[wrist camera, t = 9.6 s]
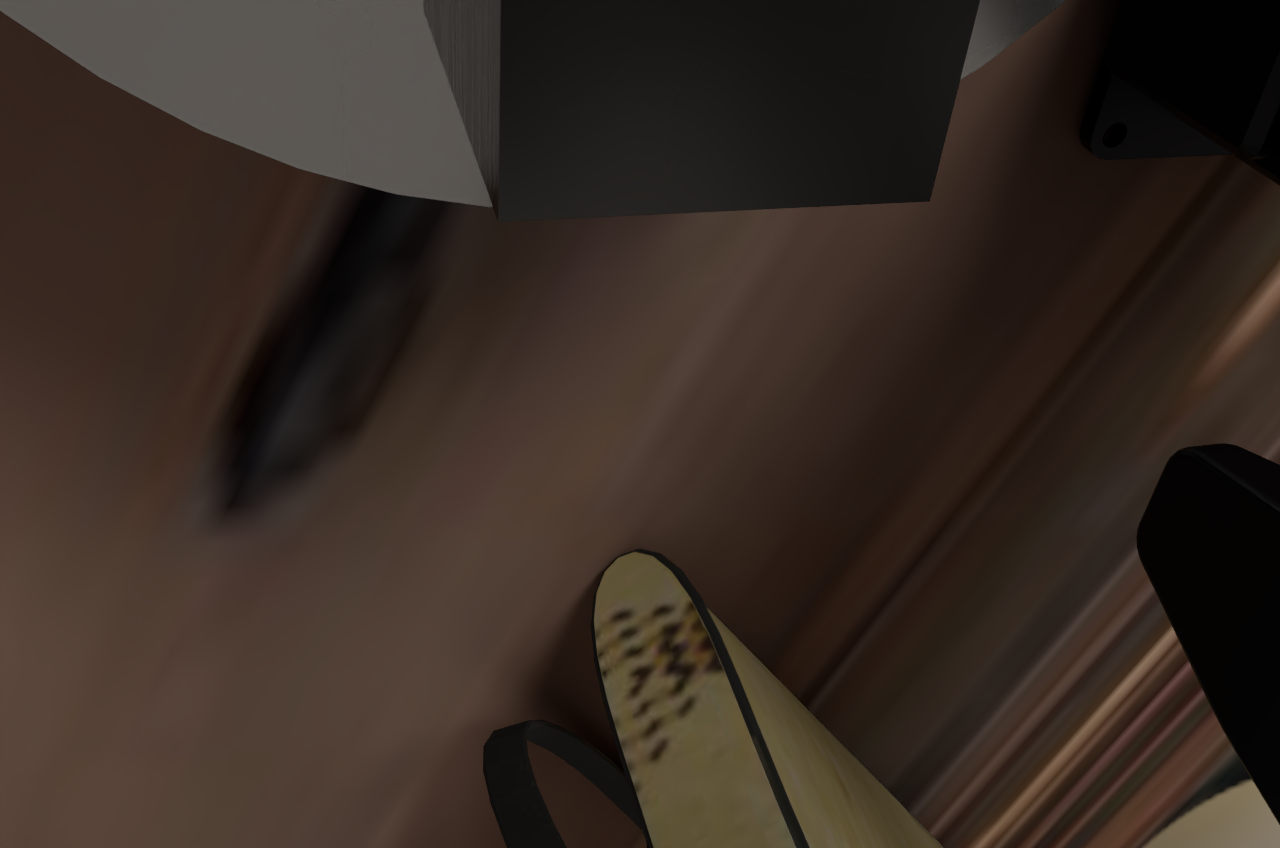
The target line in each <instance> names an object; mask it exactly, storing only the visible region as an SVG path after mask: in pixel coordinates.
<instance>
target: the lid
mask: <svg viewBox="0 0 1280 848" xmlns="http://www.w3.org/2000/svg"><path fill="white" fill-rule="evenodd" d="M1065 1H1066V0H0V11H1V12H3V13H4V14H6V15H7V16H9V17H10V18H12V19H13V20H15V21H16V22H18V23H19V24H21V25H22V26H24V27H25V28H26V29H28V30H29V31H31V32H32V33H34V34H35V35H37V36H38V37H40V38H41V39H43V40H44V41H46V42H47V43H49V44H50V45H52V46H53V47H55V48H56V49H58V50H59V51H61V52H62V53H64V54H65V55H67V56H68V57H70V58H71V59H73V60H74V61H76V62H77V63H79V64H80V65H82V66H83V67H85V68H86V69H88V70H89V71H91V72H92V73H94V74H95V75H97V76H98V77H100V78H102V79H104V80H106V81H107V82H109V83H111V84H113V85H115V86H117V87H119V88H121V89H123V90H125V91H127V92H128V93H130V94H132V95H134V96H136V97H138V98H140V99H142V100H144V101H146V102H147V103H149V104H151V105H153V106H155V107H157V108H159V109H161V110H163V111H165V112H167V113H168V114H170V115H172V116H174V117H176V118H178V119H180V120H182V121H184V122H186V123H187V124H189V125H191V126H193V127H195V128H197V129H199V130H201V131H203V132H206V133H208V134H211V135H213V136H216V137H219V138H221V139H224V140H226V141H229V142H231V143H234V144H237V145H239V146H242V147H244V148H247V149H249V150H252V151H255V152H257V153H260V154H262V155H265V156H267V157H270V158H273V159H275V160H278V161H280V162H283V163H285V164H288V165H291V166H293V167H296V168H298V169H301V170H305V171H309V172H312V173H316V174H320V175H324V176H328V177H332V178H335V179H339V180H343V181H347V182H351V183H355V184H358V185H362V186H366V187H370V188H374V189H378V190H381V191H385V192H389V193H393V194H397V195H405V196H412V197H419V198H427V199H434V200H441V201H449V202H456V203H463V204H470V205H478V206H485V207H493V208H494V211H495V214H496V217H497V220H498V222H506V221H527V220H548V219H569V218H590V217H611V216H632V215H653V214H673V213H694V212H715V211H736V210H757V209H778V208H799V207H820V206H841V205H862V204H882V203H903V202H924V201H930V198H931V194H932V190H933V186H934V182H935V178H936V174H937V170H938V166H939V162H940V158H941V154H942V150H943V146H944V142H945V138H946V134H947V130H948V126H949V122H950V118H951V114H952V110H953V106H954V102H955V98H956V94H957V90H958V86H959V83H960V80H961V79H962V78H964V77H965V76H967V75H969V74H970V73H972V72H973V71H975V70H977V69H978V68H980V67H981V66H983V65H985V64H986V63H987V62H989V61H990V60H991V59H992V58H994V57H995V56H996V55H998V54H999V53H1000V52H1001V51H1003V50H1004V49H1005V48H1007V47H1008V46H1009V45H1010V44H1012V43H1013V42H1014V41H1015V40H1017V39H1018V38H1019V37H1021V36H1022V35H1023V34H1024V33H1026V32H1027V31H1028V30H1030V29H1031V28H1032V27H1033V26H1035V25H1036V24H1037V23H1038V22H1040V21H1041V20H1042V19H1044V18H1045V17H1046V16H1047V15H1049V14H1050V13H1051V12H1052V11H1054V10H1055V9H1056V8H1058V7H1059V6H1060V5H1061V4H1062V3H1064V2H1065Z"/></svg>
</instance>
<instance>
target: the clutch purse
mask: <svg viewBox="0 0 1280 848" xmlns="http://www.w3.org/2000/svg"><path fill="white" fill-rule="evenodd" d="M591 630H592V641H593V651H594V661H595V666H596V670H597V675H598V679H599V684H600V689H601V693H602V698H603V702H604V706H605V709H606V713H607V716H608V720H609V723H610V726H611V730H612V733H613V737H614V740H615V743H616V747H617V750H618V754H619V757H620V760H621V763H622V766H623V769H624V772H623V771H622V770H621V769H620V768H619V767H618V766H617V765H616V764H614V763H613V762H612V761H611V760H610V759H609V758H607V757H606V756H605V755H604V754H602V753H601V752H600V751H599V750H598V749H596V748H595V747H593V746H592V745H591V744H589V743H588V742H586V741H585V740H583V739H582V738H580V737H579V736H577V735H575V734H573V733H572V732H570V731H568V730H566V729H564V728H562V727H560V726H558V725H555V724H552V723H550V722H547V721H544V720H529V721H525V722H522V723H519V724H515V725H512V726H508V727H505V728H502V729H498V730H495V731H493V733H492V734H491V736H490V737H489V739H488V740H487V742H486V743H485V745H484V755H483V772H484V776H485V780H486V785H487V789H488V793H489V798H490V802H491V806H492V808H493V811H494V814H495V816H496V819H497V822H498V825H499V827H500V830H501V833H502V835H503V838H504V841H505V843H506V846H507V848H566V846H565V844H564V842H563V840H562V838H561V836H560V835H559V833H558V831H557V829H556V827H555V825H554V823H553V821H552V819H551V816H550V814H549V812H548V809H547V807H546V805H545V803H544V800H543V798H542V796H541V793H540V791H539V789H538V787H537V784H536V780H535V777H534V774H533V771H532V767H531V764H530V761H529V757H528V752H527V740H528V741H531V742H533V743H535V744H537V745H539V746H541V747H543V748H545V749H547V750H549V751H551V752H552V753H554V754H556V755H557V756H559V757H560V758H562V759H563V760H565V761H566V762H567V763H569V764H570V765H571V766H573V767H574V768H575V769H577V770H578V771H579V772H580V773H582V774H583V775H584V776H585V777H586V778H587V779H589V780H590V781H591V782H592V783H593V784H594V785H595V786H597V787H598V788H599V789H600V790H601V791H602V792H603V793H604V794H605V795H606V796H607V797H608V798H609V799H610V800H612V801H613V802H614V803H615V804H616V805H617V806H618V807H619V808H620V809H621V810H622V811H623V812H624V813H625V814H626V815H627V816H628V817H629V818H630V819H631V820H632V821H633V822H634V823H635V824H636V825H637V826H638V827H640V828H641V829H642V830H643V833H644V836H645V839H646V842H647V848H944V847H943V846H942V845H941V844H940V843H939V842H938V841H937V840H936V839H935V838H934V837H933V836H932V835H931V834H930V833H929V832H928V831H927V830H926V829H925V828H924V827H923V826H922V825H921V824H920V823H919V822H918V821H917V820H916V819H915V818H914V817H913V816H912V815H911V814H910V813H909V812H908V811H907V810H906V809H905V808H904V807H903V806H902V805H901V803H900V802H899V801H898V800H897V799H896V798H895V797H894V796H893V795H892V794H891V793H890V792H889V791H888V790H887V789H886V788H885V787H884V786H883V785H882V784H881V783H880V782H879V781H878V780H877V779H876V778H875V777H874V776H873V775H872V774H871V773H870V772H869V771H868V770H867V769H866V768H865V767H864V766H863V765H862V764H861V763H860V762H859V761H858V760H857V759H856V758H855V757H854V756H853V755H852V754H851V753H850V752H849V751H848V750H847V749H846V748H845V747H844V746H843V745H842V744H841V743H840V742H839V741H838V740H837V739H836V738H835V737H834V736H833V735H832V734H831V733H830V732H829V731H828V730H827V728H826V727H825V726H824V725H823V724H822V723H821V722H820V721H819V720H818V719H817V718H816V717H815V716H814V715H813V714H812V713H811V712H810V711H809V710H808V709H807V708H806V707H805V706H804V705H803V704H802V703H801V702H800V701H799V700H798V699H797V698H796V697H795V696H794V695H793V694H792V693H791V692H790V691H789V690H788V689H787V688H786V687H785V686H784V685H783V684H782V683H781V682H780V681H779V680H778V679H777V678H776V677H775V676H774V675H773V674H772V673H771V672H770V671H769V670H768V669H767V668H766V667H765V666H764V665H763V664H762V663H761V662H760V661H759V660H758V659H757V658H756V657H755V656H754V654H753V653H752V652H751V651H750V650H749V649H748V648H747V647H746V646H745V645H744V644H743V643H742V642H741V641H740V640H739V639H738V638H737V637H736V636H735V635H734V634H733V633H732V632H731V631H730V630H729V629H728V628H727V627H726V626H725V625H724V624H723V623H722V622H721V621H720V620H719V619H718V618H717V617H716V616H715V615H714V614H713V613H712V612H711V611H710V610H709V609H708V608H707V607H706V606H705V604H704V602H703V600H702V598H701V596H700V595H699V593H698V592H697V591H696V589H695V588H694V586H693V585H692V584H691V582H690V581H689V580H688V578H687V577H686V576H685V574H684V573H683V571H682V570H681V569H680V568H678V567H677V566H676V565H675V564H673V563H672V562H671V561H669V560H668V559H667V558H666V557H664V556H663V555H662V554H660V553H656V552H651V551H647V550H643V549H637V550H634V551H632V552H629V553H626V554H623V555H620V556H618V557H617V558H616V560H615V561H614V562H613V563H612V564H611V565H610V566H609V567H608V568H607V569H606V570H605V571H604V572H603V575H602V577H601V580H600V582H599V585H598V587H597V590H596V592H595V595H594V601H593V611H592V621H591Z"/></svg>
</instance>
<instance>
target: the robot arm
mask: <svg viewBox="0 0 1280 848" xmlns="http://www.w3.org/2000/svg"><path fill="white" fill-rule="evenodd" d="M1112 124H1115V127H1114V129H1113V130H1112V132H1111V133H1110V134H1109V135H1108V136H1107V137H1105V138H1103V135H1104V133H1105V131H1106V130H1107V129H1108V128H1109V127H1110V126H1111V125H1112ZM1079 137H1080V141H1081V144H1082V145H1083V146H1084V147H1085V148H1086V149H1087V150H1088V151H1090V152H1091V153H1092V154H1094V155H1095V156H1096V157H1098V158H1100V159H1105V160H1112V159H1137V158H1161V157H1185V156H1209V155H1234V156H1236V157H1237V158H1239V159H1240V160H1242V161H1243V162H1245V163H1246V164H1248V165H1249V166H1251V167H1252V168H1254V169H1255V170H1257V171H1258V172H1260V173H1261V174H1263V175H1264V176H1266V177H1267V178H1269V179H1270V180H1272V181H1274V182H1275V183H1277V184H1278V185H1280V0H1121V3H1120V6H1119V9H1118V12H1117V15H1116V18H1115V21H1114V25H1113V28H1112V31H1111V34H1110V37H1109V40H1108V43H1107V46H1106V49H1105V53H1104V56H1103V59H1102V62H1101V66H1100V69H1099V72H1098V75H1097V78H1096V81H1095V84H1094V87H1093V90H1092V94H1091V97H1090V100H1089V103H1088V106H1087V109H1086V112H1085V115H1084V118H1083V122H1082V125H1081V128H1080V136H1079ZM1136 539H1137V549H1138V554H1139V557H1140V560H1141V562H1142V565H1143V567H1144V569H1145V571H1146V573H1147V575H1148V577H1149V579H1150V581H1151V583H1152V585H1153V587H1154V589H1155V592H1156V594H1157V596H1158V598H1159V600H1160V602H1161V604H1162V606H1163V608H1164V610H1165V612H1166V614H1167V616H1168V619H1169V621H1170V623H1171V625H1172V627H1173V629H1174V631H1175V633H1176V635H1177V637H1178V639H1179V641H1180V643H1181V646H1182V648H1183V650H1184V652H1185V654H1186V656H1187V658H1188V660H1189V662H1190V664H1191V666H1192V668H1193V670H1194V672H1195V675H1196V677H1197V679H1198V681H1199V683H1200V685H1201V687H1202V689H1203V691H1204V693H1205V695H1206V697H1207V699H1208V702H1209V704H1210V705H1211V707H1212V709H1213V711H1214V713H1215V715H1216V717H1217V719H1218V721H1219V723H1220V725H1221V727H1222V729H1223V731H1224V732H1225V734H1226V736H1227V738H1228V739H1229V741H1230V743H1231V745H1232V746H1233V748H1234V750H1235V752H1236V753H1237V755H1238V757H1239V759H1240V760H1241V762H1242V764H1243V765H1244V767H1245V768H1246V770H1247V772H1248V773H1249V775H1250V777H1251V778H1252V780H1253V782H1254V783H1255V785H1256V786H1257V788H1258V790H1259V791H1260V793H1261V795H1262V796H1263V798H1264V800H1265V801H1266V803H1267V804H1268V806H1269V808H1270V809H1271V811H1272V813H1273V815H1274V816H1275V818H1276V819H1277V821H1278V823H1279V825H1280V465H1278V464H1276V463H1274V462H1272V461H1270V460H1267V459H1265V458H1263V457H1261V456H1259V455H1256V454H1254V453H1252V452H1250V451H1248V450H1245V449H1243V448H1241V447H1238V446H1236V445H1232V444H1221V443H1220V444H1211V445H1202V446H1193V447H1186V448H1183V449H1180V450H1178V451H1177V452H1176V453H1175V454H1173V455H1172V456H1171V457H1170V458H1169V460H1168V462H1167V463H1166V465H1165V467H1164V470H1163V472H1162V474H1161V476H1160V479H1159V481H1158V483H1157V485H1156V487H1155V490H1154V492H1153V494H1152V496H1151V499H1150V501H1149V503H1148V505H1147V508H1146V510H1145V512H1144V514H1143V517H1142V519H1141V521H1140V523H1139V526H1138V529H1137V537H1136Z"/></svg>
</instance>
